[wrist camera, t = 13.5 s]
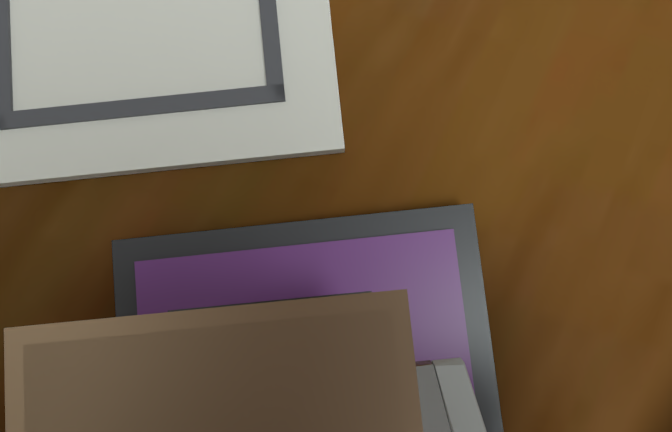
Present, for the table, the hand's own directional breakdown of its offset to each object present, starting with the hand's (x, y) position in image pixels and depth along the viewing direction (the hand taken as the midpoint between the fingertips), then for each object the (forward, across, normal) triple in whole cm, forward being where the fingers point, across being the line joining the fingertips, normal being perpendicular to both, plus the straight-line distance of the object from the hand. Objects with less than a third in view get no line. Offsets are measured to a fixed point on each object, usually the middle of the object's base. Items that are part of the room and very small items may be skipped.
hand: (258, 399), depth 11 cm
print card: (+17, +5, -2) cm, 18 cm away
